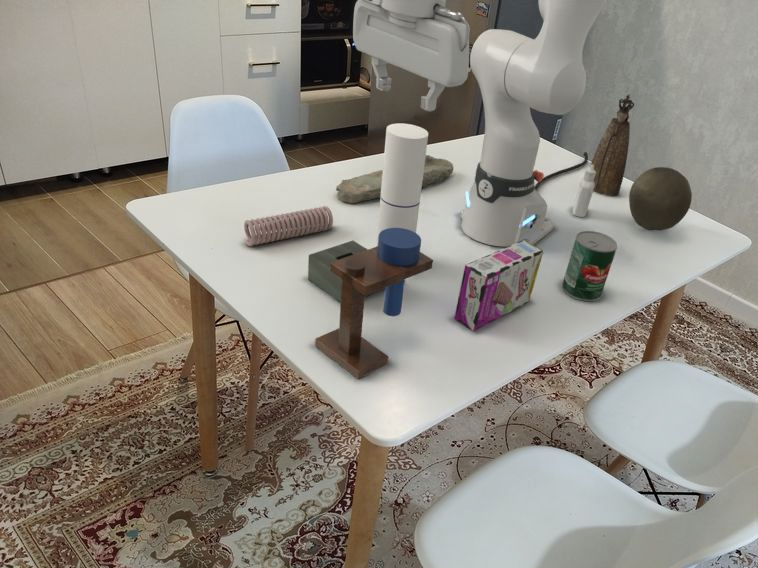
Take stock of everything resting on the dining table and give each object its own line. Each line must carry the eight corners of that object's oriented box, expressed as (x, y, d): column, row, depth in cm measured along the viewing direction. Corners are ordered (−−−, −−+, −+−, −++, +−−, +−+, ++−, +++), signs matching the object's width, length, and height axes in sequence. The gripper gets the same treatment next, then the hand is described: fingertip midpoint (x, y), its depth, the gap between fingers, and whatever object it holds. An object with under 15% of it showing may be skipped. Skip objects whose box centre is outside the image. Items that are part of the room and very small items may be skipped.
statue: (588, 193, 169) (616, 94, 155) (582, 181, 175) (609, 85, 161) (620, 197, 171) (651, 100, 156) (613, 185, 177) (642, 90, 162)
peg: (392, 296, 107) (400, 224, 99) (419, 314, 104) (430, 241, 96) (363, 308, 102) (369, 234, 95) (391, 327, 100) (399, 252, 92)
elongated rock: (324, 197, 146) (354, 217, 142) (325, 175, 142) (355, 195, 138) (433, 162, 168) (461, 178, 164) (436, 142, 164) (465, 158, 160)
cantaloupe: (620, 211, 163) (638, 153, 154) (676, 224, 162) (698, 166, 153) (619, 235, 152) (639, 173, 143) (679, 249, 151) (703, 188, 142)
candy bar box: (487, 278, 104) (545, 249, 115) (463, 264, 106) (522, 237, 117) (474, 334, 111) (530, 302, 122) (452, 320, 113) (509, 289, 124)
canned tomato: (575, 275, 133) (589, 226, 126) (608, 292, 129) (625, 243, 123) (554, 288, 127) (568, 237, 121) (588, 306, 124) (604, 255, 117)
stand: (384, 315, 111) (393, 228, 101) (426, 343, 106) (440, 256, 97) (314, 346, 101) (317, 253, 92) (357, 379, 96) (365, 285, 87)
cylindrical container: (383, 270, 122) (396, 139, 108) (369, 251, 127) (380, 123, 112) (418, 266, 126) (435, 138, 111) (403, 248, 130) (418, 123, 116)
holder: (351, 264, 122) (353, 240, 119) (388, 287, 118) (390, 263, 115) (307, 279, 116) (308, 254, 113) (344, 305, 111) (346, 280, 108)
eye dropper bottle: (565, 211, 158) (578, 163, 151) (578, 206, 161) (591, 159, 154) (579, 218, 156) (593, 170, 149) (592, 213, 159) (606, 166, 152)
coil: (251, 229, 118) (338, 213, 128) (239, 216, 120) (325, 201, 131) (251, 251, 121) (335, 233, 131) (239, 237, 123) (323, 221, 134)
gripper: (486, 14, 87) (471, 118, 95) (380, -21, 96) (374, 77, 104) (454, 17, 83) (441, 125, 91) (346, -20, 92) (344, 81, 100)
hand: (405, 99), depth 98 cm, fingers open, 8 cm apart
